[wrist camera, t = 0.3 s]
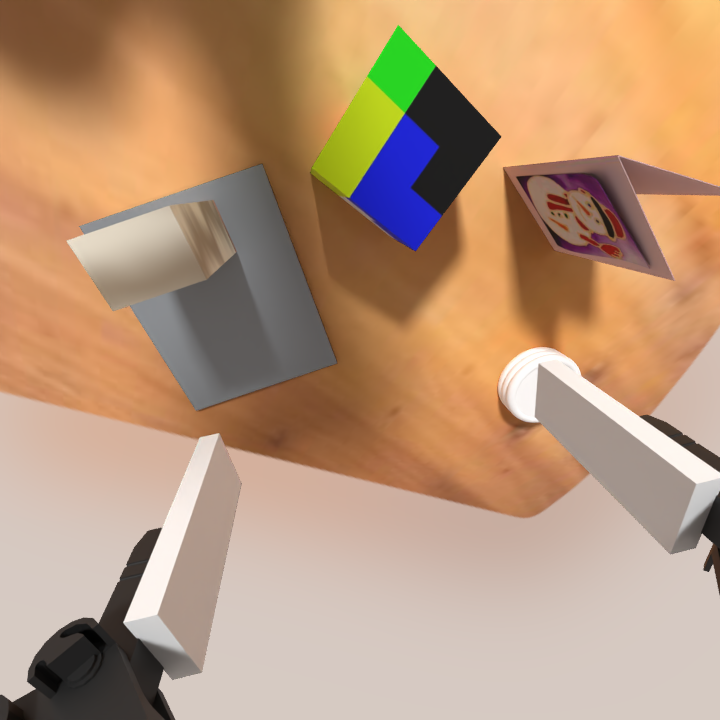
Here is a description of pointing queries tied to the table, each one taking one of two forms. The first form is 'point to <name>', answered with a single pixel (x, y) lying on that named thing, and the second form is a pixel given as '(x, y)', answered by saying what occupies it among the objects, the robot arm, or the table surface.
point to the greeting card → (602, 207)
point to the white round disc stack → (526, 380)
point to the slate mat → (236, 300)
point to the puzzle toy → (405, 144)
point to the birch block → (155, 252)
